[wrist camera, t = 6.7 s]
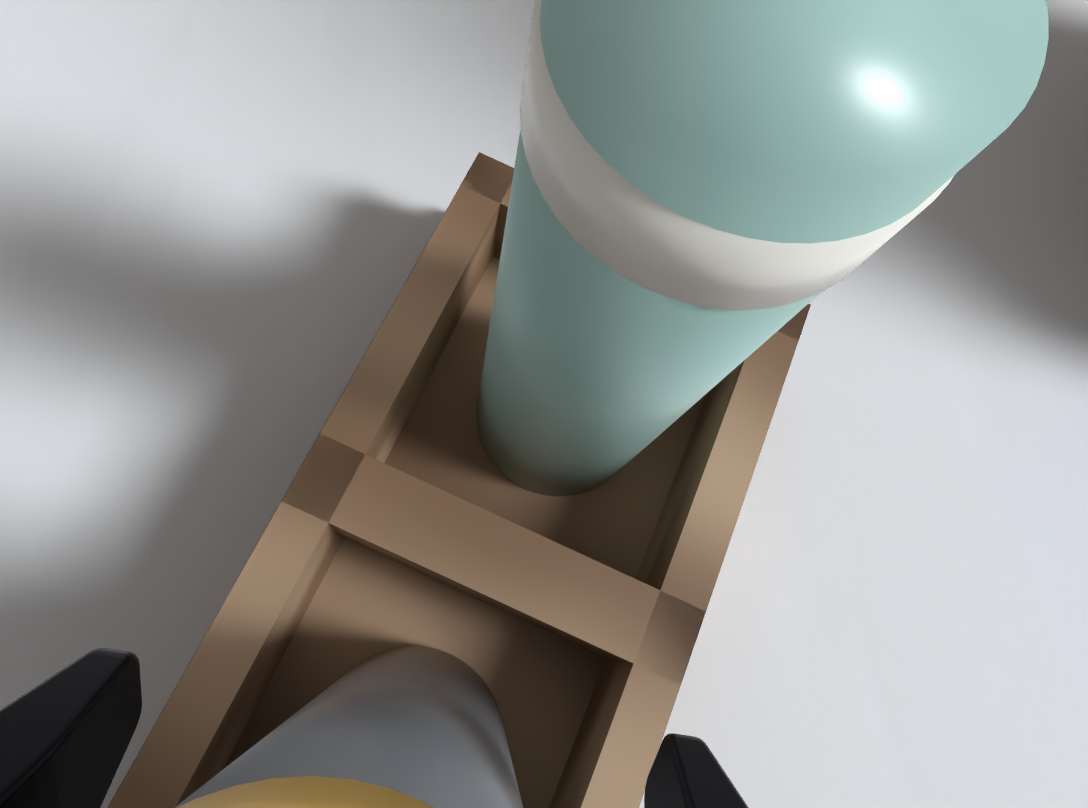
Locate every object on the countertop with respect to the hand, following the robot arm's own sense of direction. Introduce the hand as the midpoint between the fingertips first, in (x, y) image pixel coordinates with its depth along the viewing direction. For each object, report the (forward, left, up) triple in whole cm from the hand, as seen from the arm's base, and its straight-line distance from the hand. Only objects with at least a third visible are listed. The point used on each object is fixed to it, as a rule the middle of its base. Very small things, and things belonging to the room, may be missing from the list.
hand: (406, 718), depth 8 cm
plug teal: (+7, 0, -8) cm, 10 cm away
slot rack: (+3, 0, -9) cm, 9 cm away
